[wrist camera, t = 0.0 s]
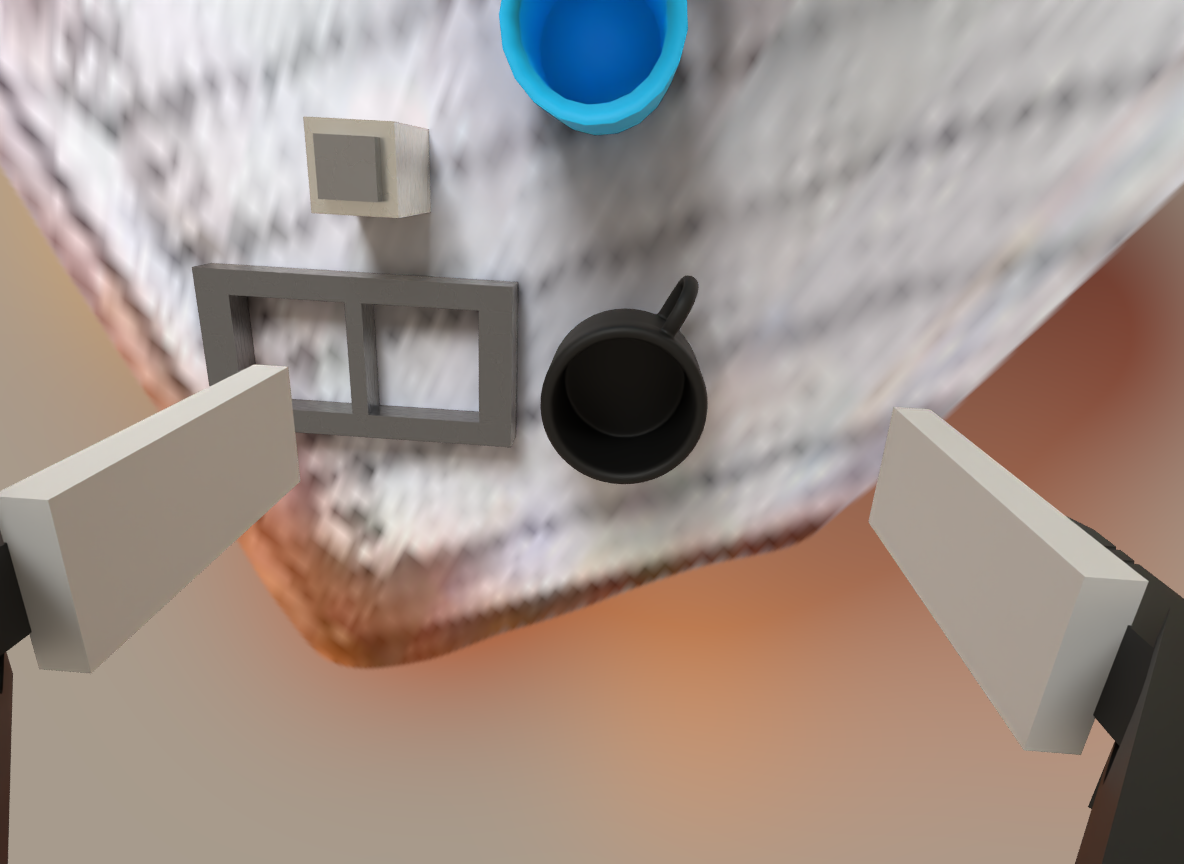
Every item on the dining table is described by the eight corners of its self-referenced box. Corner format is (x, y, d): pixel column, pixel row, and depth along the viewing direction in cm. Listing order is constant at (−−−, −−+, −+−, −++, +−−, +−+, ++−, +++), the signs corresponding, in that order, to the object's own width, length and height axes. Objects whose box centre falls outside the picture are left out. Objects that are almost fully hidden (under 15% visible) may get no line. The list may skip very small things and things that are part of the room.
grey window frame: (211, 263, 42) (191, 267, 41) (518, 281, 42) (512, 287, 40) (232, 416, 46) (215, 426, 44) (515, 435, 45) (510, 447, 43)
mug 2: (648, 464, 46) (651, 513, 39) (528, 397, 44) (510, 437, 38) (752, 307, 42) (774, 332, 35) (623, 229, 40) (621, 240, 34)
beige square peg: (350, 124, 39) (295, 115, 33) (428, 129, 39) (388, 120, 33) (355, 207, 41) (304, 213, 35) (430, 212, 41) (393, 219, 34)
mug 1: (608, 167, 39) (602, 165, 32) (496, 64, 38) (461, 35, 30) (760, -22, 36) (795, -75, 28) (643, -145, 34) (645, -236, 27)
